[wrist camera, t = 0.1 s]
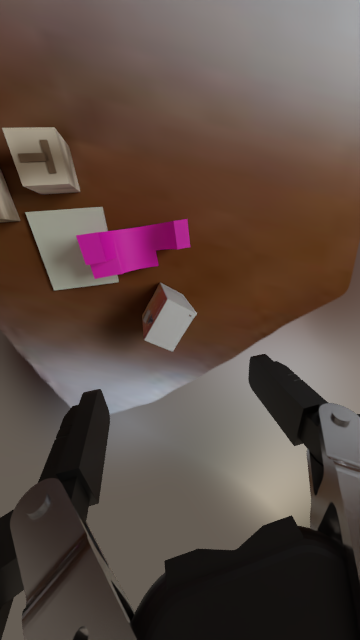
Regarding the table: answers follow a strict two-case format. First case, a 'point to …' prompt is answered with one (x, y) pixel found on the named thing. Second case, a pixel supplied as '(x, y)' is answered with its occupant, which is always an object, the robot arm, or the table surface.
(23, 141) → the birch cube
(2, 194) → the screen
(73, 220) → the pad
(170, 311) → the small box
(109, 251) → the toy block
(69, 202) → the table surface
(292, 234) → the table surface
